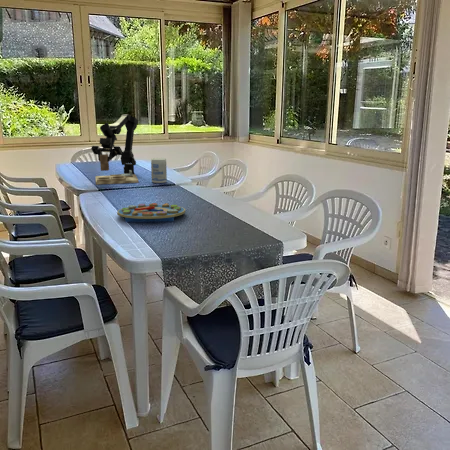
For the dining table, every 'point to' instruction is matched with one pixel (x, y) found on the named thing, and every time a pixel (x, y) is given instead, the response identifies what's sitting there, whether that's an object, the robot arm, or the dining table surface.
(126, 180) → the puzzle board
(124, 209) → the shape sorting clock
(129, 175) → the slide cover
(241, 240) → the dining table surface
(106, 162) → the walnut block
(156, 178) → the supplement tub
